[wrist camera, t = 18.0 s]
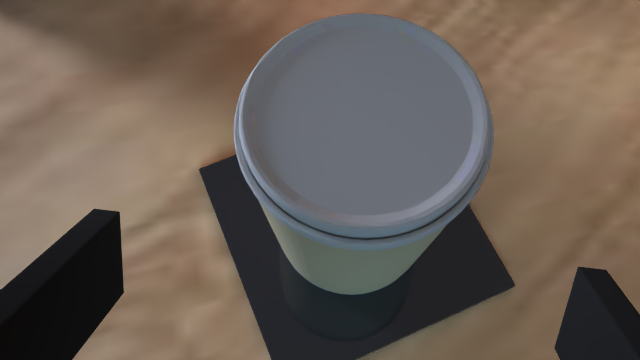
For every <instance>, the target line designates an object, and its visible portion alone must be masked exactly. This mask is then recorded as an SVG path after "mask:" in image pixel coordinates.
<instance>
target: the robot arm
mask: <svg viewBox="0 0 640 360" xmlns="http://www.w3.org/2000/svg"><path fill="white" fill-rule="evenodd" d="M123 293H124V288H123V269H122V249H121V229H120V212H117V211H108V210H100V209H93V210H92V211H91V212H90V213H89V214H88V215H86V216H85V217H84V218H83V219H82V220H81V221H80V222H78V223H77V224H76V225H75V226H74V227H73V228H71V229H70V230H69V231H68V232H67V233H66V234H65V235H63V236H62V237H61V238H60V239H59V240H58V241H56V242H55V243H54V244H53V245H52V246H51V247H50V248H48V249H47V250H46V251H45V252H44V253H43V254H42V255H40V256H39V257H38V258H37V259H36V260H35V261H33V262H32V263H31V264H30V265H29V266H28V267H27V268H25V269H24V270H23V271H22V272H21V273H20V274H18V275H17V276H16V277H15V278H14V279H13V280H12V281H10V282H9V283H8V284H7V285H6V286H5V287H4V288H2V289H0V360H72V359H73V358H74V357H75V355H76V354H77V353H78V351H79V350H80V349H81V347H82V346H83V345H84V344H85V342H86V341H87V340H88V338H89V337H90V336H91V334H92V333H93V332H94V331H95V329H96V328H97V327H98V325H99V324H100V323H101V321H102V320H103V319H104V318H105V316H106V315H107V314H108V312H109V311H110V310H111V308H112V307H113V306H114V305H115V303H116V302H117V301H118V299H119V298H120V297H121V295H122V294H123ZM555 350H556V352H557V354H558V356H559V358H560V360H640V315H639V313H638V312H637V310H636V309H635V308H634V306H633V305H632V304H631V302H630V301H629V300H628V298H627V297H626V296H625V294H624V293H623V292H622V290H621V289H620V288H619V286H618V285H617V284H616V282H615V281H614V280H613V278H612V277H611V276H610V274H609V273H608V272H607V270H602V269H593V268H585V267H578V269H577V272H576V276H575V279H574V282H573V286H572V289H571V293H570V296H569V300H568V303H567V307H566V310H565V313H564V317H563V320H562V324H561V327H560V331H559V334H558V337H557V341H556V344H555Z"/></svg>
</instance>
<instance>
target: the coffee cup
mask: <svg viewBox="0 0 640 360" xmlns="http://www.w3.org/2000/svg"><path fill="white" fill-rule="evenodd" d="M234 144H235V150H236V155H237V159H238V162H239V165H240V168H241V171H242V173H243V175H244V177H245V180H246V182H247V183H248V185H249V186H250V188H251V190H252V191H253V193H254V195H255V196H256V197H257V199H258V200H259V203H260V205H261V207H262V209H263V211H264V213H265V215H266V217H267V219H268V221H269V223H270V225H271V227H272V229H273V231H274V233H275V235H276V237H277V239H278V241H279V243H280V245H281V247H282V249H283V251H284V253H285V255H286V256H287V258H288V260H289V261H290V262H291V264H292V265H293V267H294V268H295V269H296V270H297V272H299V273H300V274H301V275H302V276H303V277H304V278H305V279H306V280H308V281H309V282H311V283H312V284H314V285H316V286H318V287H320V288H322V289H324V290H327V291H331V292H334V293H339V294H349V295H355V294H364V293H369V292H373V291H376V290H379V289H381V288H383V287H386V286H387V285H389V284H391V283H392V282H394V281H395V280H397V279H398V278H399V277H400V276H401V275H402V274H403V273H404V272H406V271H407V270H408V269H409V268H410V266H411V265H412V264H413V263H414V262H415V261H416V260H417V259H418V257H419V256H420V255H421V254H422V253H423V252H424V251H425V249H426V248H427V247H428V246H429V245H430V244H431V243H432V241H433V240H434V239H435V238H436V237H437V236H438V235H439V234H440V232H441V231H442V230H443V229H444V227H445V226H446V225H447V224H448V223H449V222H450V221H452V220H453V219H454V218H455V217H456V216H457V215H458V214H460V213H461V212H462V210H463V209H464V208H465V207H466V206H467V205H468V204H469V203H470V201H471V200H472V199H473V197H474V196H475V194H476V193H477V192H478V190H479V188H480V186H481V184H482V182H483V180H484V178H485V175H486V173H487V170H488V167H489V164H490V160H491V155H492V149H493V122H492V115H491V112H490V108H489V104H488V101H487V99H486V96H485V93H484V91H483V88H482V86H481V84H480V82H479V80H478V78H477V76H476V74H475V72H474V71H473V69H472V68H471V67H470V65H469V64H468V62H467V61H466V60H465V59H464V58H463V57H462V55H461V54H460V53H459V52H458V51H457V50H456V49H454V48H453V47H452V46H451V45H450V44H449V43H447V42H446V41H445V40H443V39H442V38H441V37H439V36H438V35H436V34H435V33H433V32H431V31H429V30H427V29H425V28H423V27H421V26H419V25H417V24H414V23H412V22H410V21H406V20H403V19H399V18H395V17H391V16H387V15H378V14H345V15H336V16H332V17H328V18H324V19H321V20H317V21H314V22H311V23H309V24H307V25H305V26H302V27H300V28H298V29H296V30H295V31H293V32H291V33H289V34H288V35H286V36H285V37H284V38H282V39H281V40H279V41H278V42H277V43H276V44H275V45H274V46H272V47H271V48H270V49H269V50H268V51H267V52H266V53H265V54H264V56H263V57H262V58H261V60H260V61H259V62H258V64H257V65H256V67H255V68H254V69H253V71H252V72H251V74H250V76H249V77H248V79H247V80H246V82H245V84H244V86H243V89H242V91H241V93H240V96H239V99H238V102H237V106H236V111H235V117H234Z"/></svg>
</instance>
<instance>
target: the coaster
mask: <svg viewBox="0 0 640 360" xmlns="http://www.w3.org/2000/svg"><path fill="white" fill-rule="evenodd" d="M199 171H200V174H201V176H202V179H203V182H204V184H205V187H206V189H207V192H208V195H209V197H210V200H211V202H212V205H213V208H214V210H215V213H216V216H217V218H218V221H219V223H220V226H221V229H222V231H223V234H224V237H225V239H226V242H227V244H228V247H229V250H230V252H231V255H232V257H233V260H234V263H235V265H236V268H237V271H238V273H239V276H240V278H241V281H242V284H243V286H244V289H245V291H246V294H247V297H248V299H249V302H250V305H251V307H252V310H253V312H254V315H255V318H256V320H257V323H258V326H259V328H260V331H261V333H262V336H263V339H264V341H265V344H266V346H267V349H268V352H269V354H270V357H271V360H356V359H359V358H361V357H363V356H365V355H367V354H370V353H372V352H374V351H376V350H378V349H380V348H383V347H385V346H387V345H389V344H391V343H394V342H396V341H398V340H400V339H402V338H404V337H407V336H409V335H411V334H413V333H415V332H417V331H420V330H422V329H424V328H426V327H428V326H431V325H433V324H435V323H437V322H439V321H441V320H444V319H446V318H448V317H450V316H452V315H455V314H457V313H459V312H461V311H463V310H465V309H468V308H470V307H472V306H474V305H476V304H478V303H481V302H483V301H485V300H487V299H489V298H492V297H494V296H496V295H498V294H500V293H502V292H505V291H507V290H509V289H511V288H513V287H514V286H515V284H514V282H513V280H512V279H511V277H510V275H509V273H508V272H507V270H506V268H505V266H504V265H503V263H502V261H501V260H500V258H499V256H498V254H497V253H496V251H495V249H494V248H493V246H492V244H491V242H490V241H489V239H488V237H487V236H486V234H485V232H484V230H483V229H482V227H481V225H480V223H479V222H478V220H477V218H476V217H475V215H474V213H473V211H472V210H471V208H470V206H469V205H467V206H466V207H465V208H464V209H463V210H462V212H461V213H460V214H458V215H457V216H456V217H455V218H454V219H453V220H452V221H450V222H449V223H448V224H447V225H446V226H445V227H444V229H443V230H442V231H441V232H440V234H439V235H438V236H437V237H436V238H435V239H434V240H433V241H432V243H431V244H430V245H429V246H428V247H427V248H426V249H425V251H424V252H423V253H422V254H421V255H420V256H419V257H418V259H417V260H416V261H415V262H414V263H413V264H412V265H411V266H410V268H409V269H408V270H407V271H406V272H404V273H403V274H402V275H401V276H400V277H399V278H398V279H397V280H395V281H394V282H392V283H391V284H389V285H387V286H386V287H383V288H381V289H379V290H376V291H373V292H369V293H364V294H355V295H349V294H339V293H334V292H331V291H327V290H324V289H322V288H320V287H318V286H316V285H314V284H312V283H311V282H309V281H308V280H306V279H305V278H304V277H303V276H302V275H301V274H300V273H299V272H297V270H296V269H295V268H294V267H293V265H292V264H291V262H290V261H289V260H288V258H287V256H286V255H285V253H284V251H283V249H282V247H281V245H280V243H279V241H278V239H277V237H276V235H275V233H274V231H273V229H272V227H271V225H270V223H269V221H268V219H267V217H266V215H265V213H264V211H263V209H262V207H261V205H260V203H259V200H258V199H257V197H256V196H255V195H254V193H253V191H252V190H251V188H250V186H249V185H248V183H247V182H246V180H245V177H244V175H243V173H242V171H241V168H240V165H239V162H238V159H237V155H234V156H232V157H229V158H226V159H224V160H221V161H219V162H216V163H213V164H211V165H208V166H206V167H203V168H200V169H199Z"/></svg>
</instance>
